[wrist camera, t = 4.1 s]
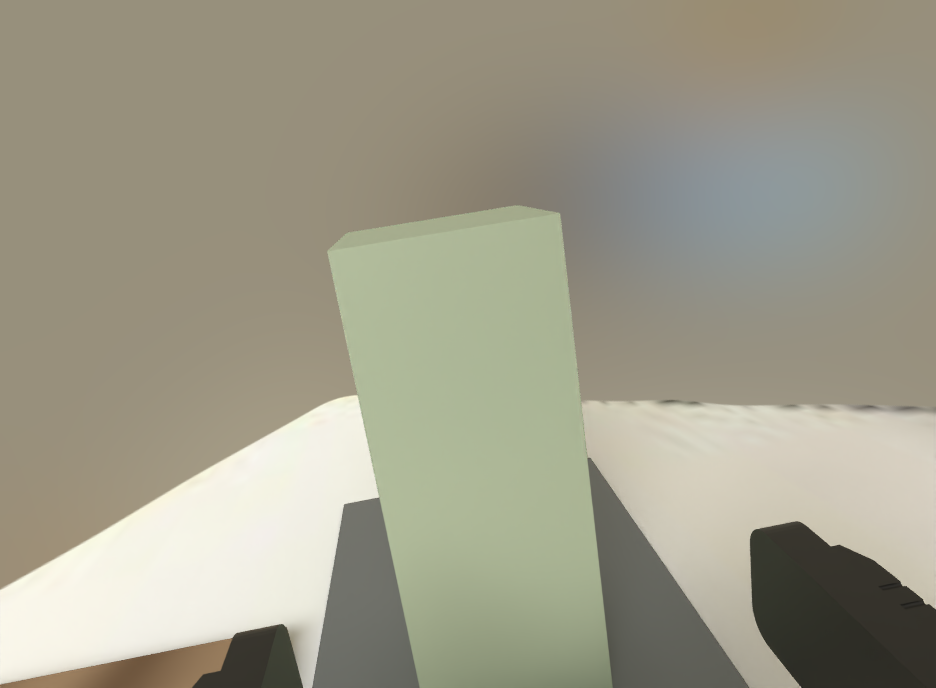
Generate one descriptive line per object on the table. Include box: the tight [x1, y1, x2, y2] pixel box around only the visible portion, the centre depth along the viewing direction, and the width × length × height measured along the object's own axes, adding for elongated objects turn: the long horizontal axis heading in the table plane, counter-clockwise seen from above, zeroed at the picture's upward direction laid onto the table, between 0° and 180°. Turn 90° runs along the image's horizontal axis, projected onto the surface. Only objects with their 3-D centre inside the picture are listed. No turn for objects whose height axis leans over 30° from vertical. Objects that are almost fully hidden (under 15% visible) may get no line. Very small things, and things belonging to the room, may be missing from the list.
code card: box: [312, 458, 749, 688], centre depth 24 cm, size 13×17×1 cm
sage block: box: [327, 205, 613, 688], centre depth 19 cm, size 6×6×14 cm
